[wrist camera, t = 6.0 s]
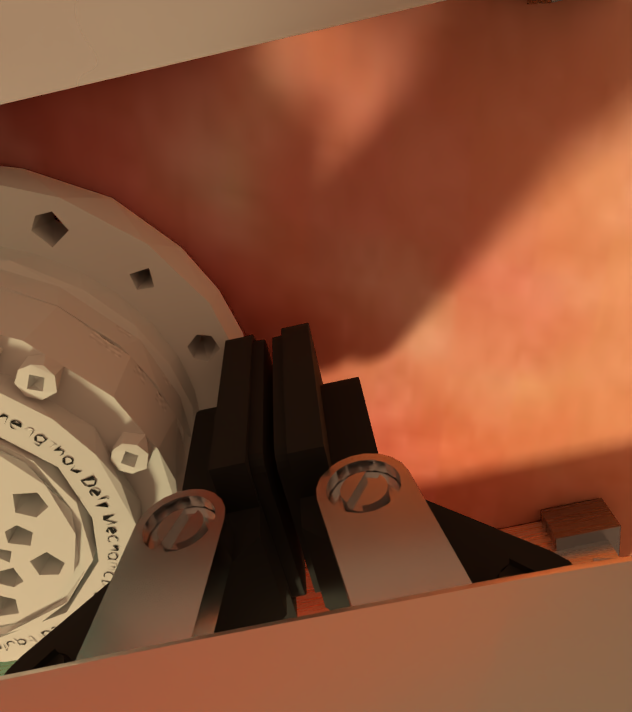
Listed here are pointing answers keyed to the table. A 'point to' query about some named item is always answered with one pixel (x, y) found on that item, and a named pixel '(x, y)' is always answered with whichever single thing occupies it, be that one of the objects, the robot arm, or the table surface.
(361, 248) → the table surface
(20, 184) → the mechanical component
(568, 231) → the table surface
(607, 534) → the bar rails
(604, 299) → the table surface
